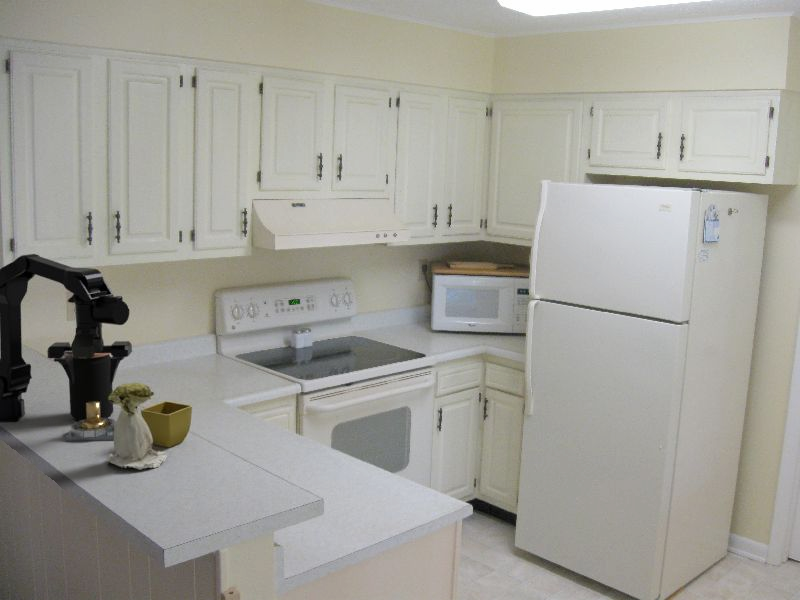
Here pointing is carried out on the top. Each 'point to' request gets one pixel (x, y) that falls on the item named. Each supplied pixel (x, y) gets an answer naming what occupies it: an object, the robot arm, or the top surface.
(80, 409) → the coffee jar
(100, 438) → the carrier
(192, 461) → the top surface
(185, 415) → the flower pot
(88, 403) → the planet gear
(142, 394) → the cream lumpy figure
